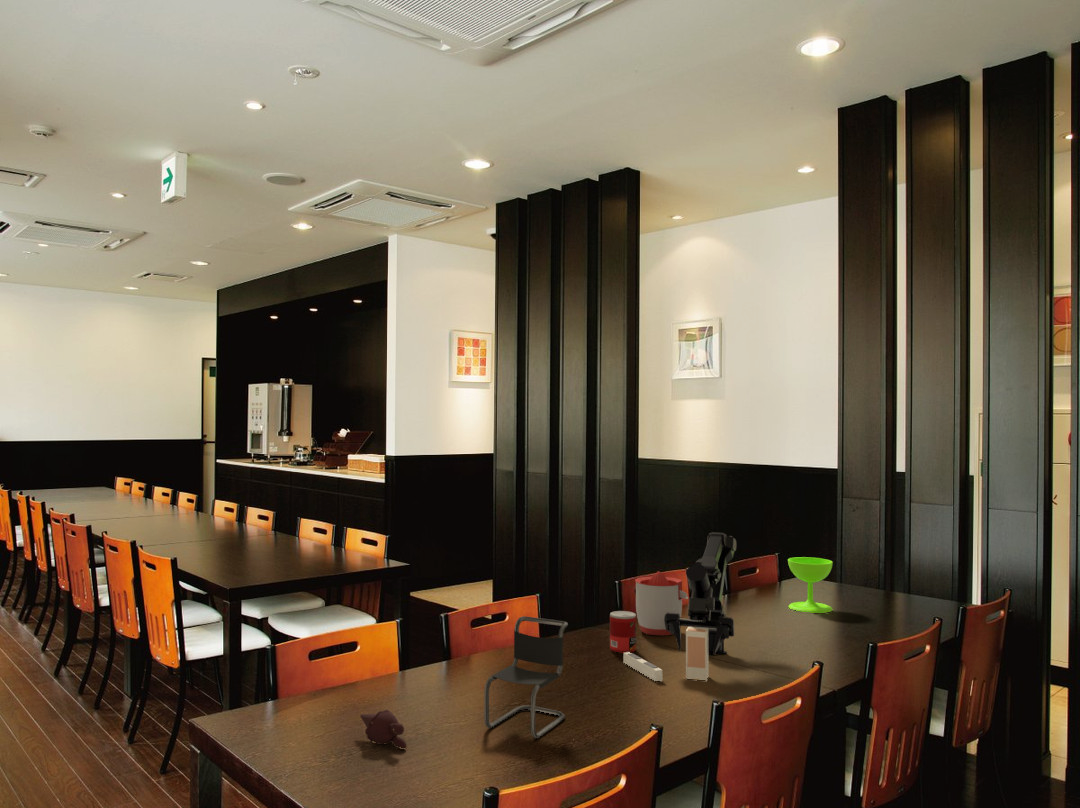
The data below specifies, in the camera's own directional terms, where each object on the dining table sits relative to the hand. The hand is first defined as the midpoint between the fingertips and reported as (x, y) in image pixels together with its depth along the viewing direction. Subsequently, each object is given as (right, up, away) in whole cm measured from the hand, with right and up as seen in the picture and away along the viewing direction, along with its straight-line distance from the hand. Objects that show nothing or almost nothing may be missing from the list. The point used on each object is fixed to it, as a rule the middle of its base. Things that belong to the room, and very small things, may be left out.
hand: (696, 651), depth 212 cm
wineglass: (+59, -10, +83) cm, 103 cm away
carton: (0, -7, +1) cm, 7 cm away
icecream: (-76, -6, -44) cm, 88 cm away
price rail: (-14, -7, +6) cm, 17 cm away
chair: (-45, -6, -33) cm, 56 cm away
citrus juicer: (-2, -9, +48) cm, 49 cm away
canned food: (-17, -8, +27) cm, 33 cm away
